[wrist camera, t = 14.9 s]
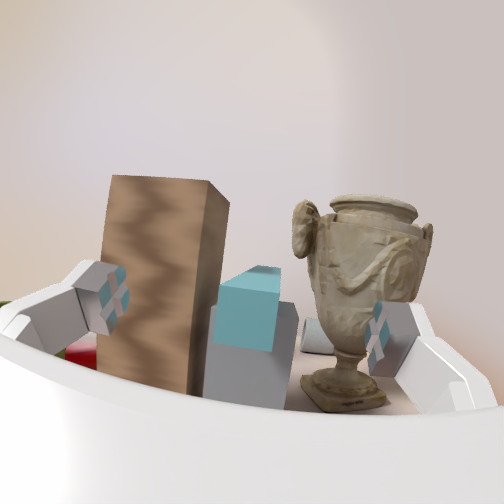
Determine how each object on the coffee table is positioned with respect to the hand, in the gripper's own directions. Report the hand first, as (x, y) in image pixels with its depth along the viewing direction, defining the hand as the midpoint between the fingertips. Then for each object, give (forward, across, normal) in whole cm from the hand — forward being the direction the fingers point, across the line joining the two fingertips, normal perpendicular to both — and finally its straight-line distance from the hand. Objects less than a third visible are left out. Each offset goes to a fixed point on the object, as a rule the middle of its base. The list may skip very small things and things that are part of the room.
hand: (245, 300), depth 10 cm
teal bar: (+15, 0, -12) cm, 19 cm away
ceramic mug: (+43, +12, -48) cm, 65 cm away
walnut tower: (+9, -10, -27) cm, 30 cm away
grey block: (+7, 0, -26) cm, 27 cm away
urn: (+22, +14, -35) cm, 44 cm away
